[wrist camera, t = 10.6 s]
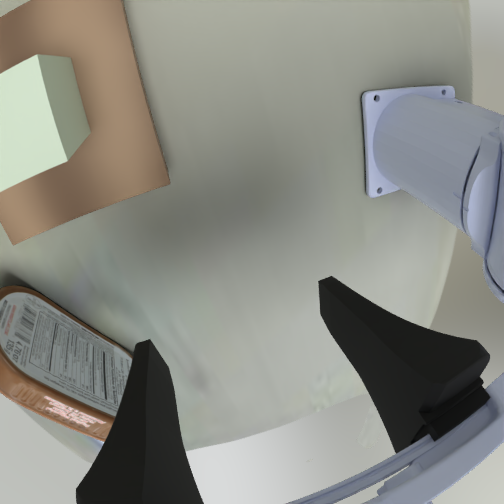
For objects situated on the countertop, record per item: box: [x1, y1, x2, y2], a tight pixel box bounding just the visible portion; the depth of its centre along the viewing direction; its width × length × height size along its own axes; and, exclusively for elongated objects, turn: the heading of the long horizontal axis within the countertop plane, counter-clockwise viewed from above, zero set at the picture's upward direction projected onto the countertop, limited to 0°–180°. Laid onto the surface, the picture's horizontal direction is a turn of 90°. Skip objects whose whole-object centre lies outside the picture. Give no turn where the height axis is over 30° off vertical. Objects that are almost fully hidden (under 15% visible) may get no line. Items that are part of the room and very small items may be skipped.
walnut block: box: [0, 0, 170, 245], centre depth 13 cm, size 10×12×3 cm
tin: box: [0, 286, 133, 442], centre depth 19 cm, size 15×3×8 cm, turn 36°
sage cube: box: [0, 54, 91, 192], centre depth 10 cm, size 4×4×5 cm
